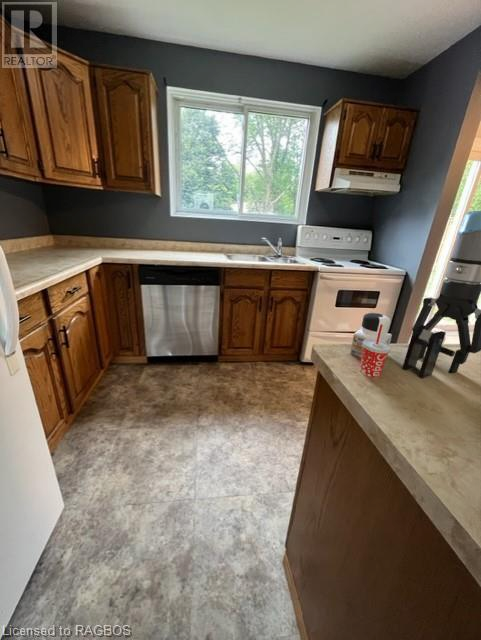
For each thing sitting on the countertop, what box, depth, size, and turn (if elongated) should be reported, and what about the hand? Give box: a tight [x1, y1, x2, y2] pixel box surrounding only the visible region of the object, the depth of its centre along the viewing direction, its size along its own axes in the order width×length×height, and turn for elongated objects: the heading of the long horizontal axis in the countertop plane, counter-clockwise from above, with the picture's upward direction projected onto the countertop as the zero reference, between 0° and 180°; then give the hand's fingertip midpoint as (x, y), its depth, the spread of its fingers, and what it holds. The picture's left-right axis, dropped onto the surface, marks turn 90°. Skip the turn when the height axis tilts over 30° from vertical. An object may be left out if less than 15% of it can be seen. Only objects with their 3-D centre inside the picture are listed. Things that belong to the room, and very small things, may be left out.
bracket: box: [401, 324, 447, 380], centre depth 66 cm, size 12×9×13 cm
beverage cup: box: [359, 324, 392, 378], centre depth 65 cm, size 6×6×14 cm
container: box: [349, 312, 393, 359], centre depth 74 cm, size 8×8×13 cm
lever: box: [419, 329, 456, 358], centre depth 67 cm, size 12×6×2 cm, turn 118°
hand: (434, 365), depth 72 cm, fingers open, 8 cm apart
